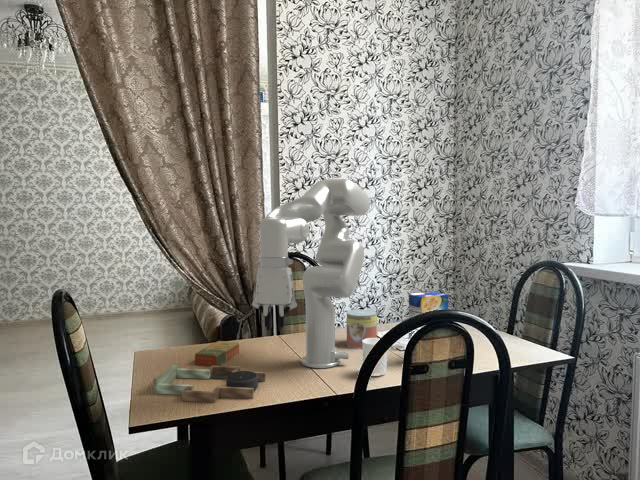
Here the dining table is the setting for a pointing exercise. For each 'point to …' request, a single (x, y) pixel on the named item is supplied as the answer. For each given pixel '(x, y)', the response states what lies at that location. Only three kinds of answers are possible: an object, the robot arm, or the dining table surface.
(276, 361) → the dining table surface
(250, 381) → the smart speaker
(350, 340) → the canned food
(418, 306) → the beverage box
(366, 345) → the white cup
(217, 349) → the carton
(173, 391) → the wooden flat frame
